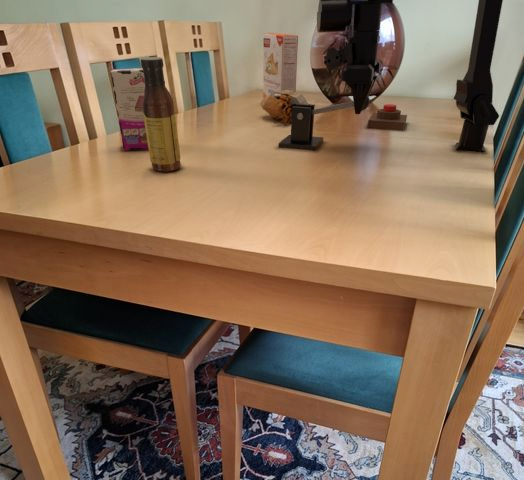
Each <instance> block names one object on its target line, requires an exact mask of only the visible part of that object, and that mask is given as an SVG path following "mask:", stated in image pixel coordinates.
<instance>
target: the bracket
mask: <svg viewBox="0 0 524 480" xmlns="http://www.w3.org/2000/svg"><path fill="white" fill-rule="evenodd" d="M315 107H316V105H315V104H310V103H308V104H296V107H295V106H293V107H292V119H291V121H290V134H288V135H287V136H286V137H284V138H283V139H281V141H279V142H278V148H279V149H288V150H289V149H291V150H301V151H314V152H315V151H317V149H318V148H319V146H320V147H321V145H322V144H323V143H324V136H314V123H315V122H314V121H315V115H311V110H313V109H316V108H315Z"/></svg>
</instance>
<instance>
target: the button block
mask: <svg viewBox="0 0 524 480" xmlns="http://www.w3.org/2000/svg"><path fill="white" fill-rule="evenodd" d="M407 120H408V114H402V110H400V109H397V108H396V112H385V111H383V108H379V109H377V112H373V113H372V114H371V115H370V117H369V119H368V121H367V127H366V128H367V129H369V130H371V129H372V130H383V131H384V130H385V131H399V132H404V129H405V127H406V123H407Z"/></svg>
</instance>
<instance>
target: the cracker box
mask: <svg viewBox="0 0 524 480" xmlns="http://www.w3.org/2000/svg"><path fill="white" fill-rule="evenodd" d="M298 44H299V35H297V34H289V33H281V32H265V33H263V49H262V50H263V57H262V59H263V60H262V61H263V68H262V69H263V71H262V72H263V73H262V76H263V77H262V79H263V81H262V83H263V85H262V88H263V91H262V92H263V93H262V96H263V97H262V100H263V99H264V98H265V97H267V96H268V95H270V94H272V93H274V92H279V91H283V90H287V89H288V90H291V91H293V92H297V71H298V70H297V66H298V47H299V46H298Z"/></svg>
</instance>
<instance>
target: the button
mask: <svg viewBox="0 0 524 480" xmlns="http://www.w3.org/2000/svg"><path fill="white" fill-rule="evenodd" d="M382 109H383V111H385V112H396V109H397V105H396V104H391V103H388V104H386V103H385V104H383V108H382Z"/></svg>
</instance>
